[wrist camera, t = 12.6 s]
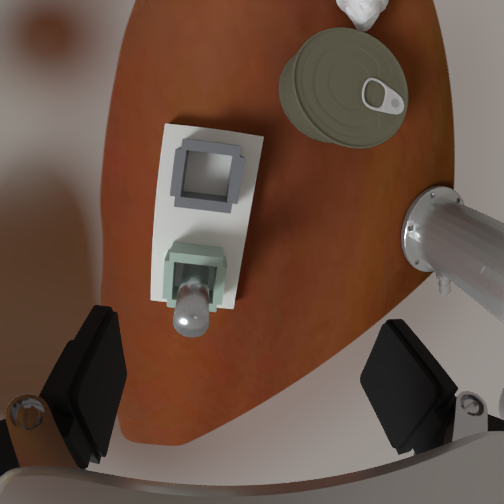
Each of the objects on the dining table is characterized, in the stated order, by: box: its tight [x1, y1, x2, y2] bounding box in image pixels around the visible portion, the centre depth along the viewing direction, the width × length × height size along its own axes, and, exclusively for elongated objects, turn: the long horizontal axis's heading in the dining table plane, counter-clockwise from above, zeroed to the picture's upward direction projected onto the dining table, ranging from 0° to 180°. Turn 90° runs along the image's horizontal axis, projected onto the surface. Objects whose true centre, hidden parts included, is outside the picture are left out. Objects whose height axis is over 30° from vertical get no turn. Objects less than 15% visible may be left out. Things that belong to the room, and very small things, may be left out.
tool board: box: [151, 124, 264, 312], centre depth 31 cm, size 20×10×4 cm, turn 170°
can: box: [279, 27, 408, 148], centre depth 26 cm, size 12×12×7 cm
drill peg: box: [173, 263, 209, 337], centre depth 29 cm, size 3×3×10 cm
